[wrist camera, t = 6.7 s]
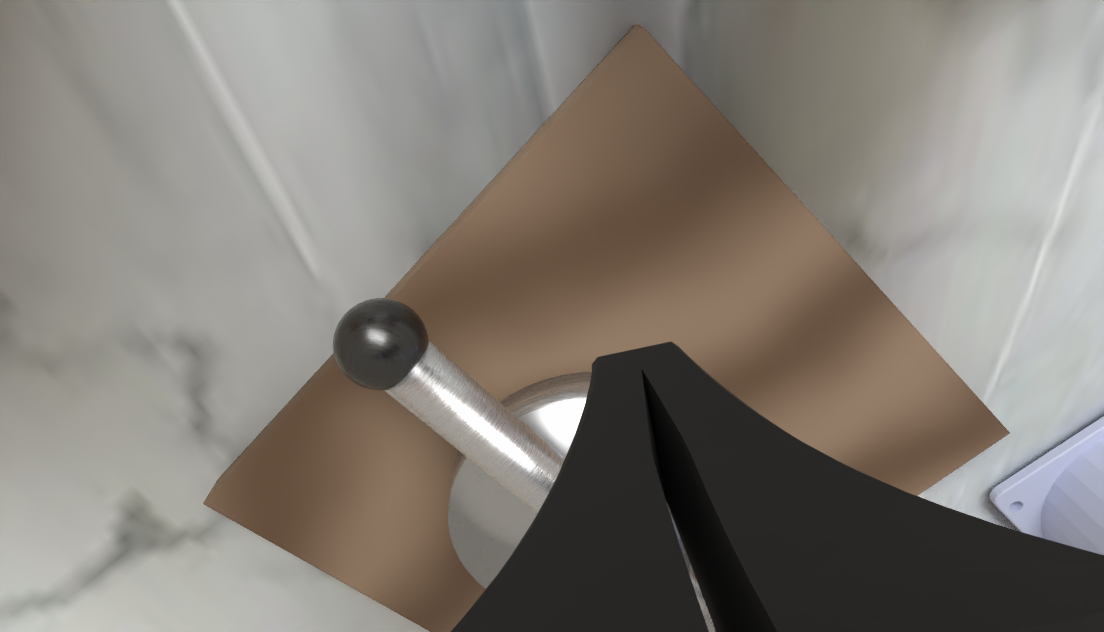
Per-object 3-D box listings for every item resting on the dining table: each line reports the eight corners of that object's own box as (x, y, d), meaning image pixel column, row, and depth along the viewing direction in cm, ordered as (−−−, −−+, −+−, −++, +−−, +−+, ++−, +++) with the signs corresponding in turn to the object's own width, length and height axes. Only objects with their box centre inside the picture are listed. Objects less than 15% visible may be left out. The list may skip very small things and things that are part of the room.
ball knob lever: (859, 575, 24) (920, 680, 21) (666, 686, 27) (689, 798, 23) (468, 174, 17) (453, 226, 13) (251, 378, 19) (189, 469, 16)
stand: (987, 412, 23) (1031, 453, 21) (583, 691, 29) (588, 744, 27) (635, 24, 17) (650, 29, 15) (218, 479, 23) (188, 527, 21)
